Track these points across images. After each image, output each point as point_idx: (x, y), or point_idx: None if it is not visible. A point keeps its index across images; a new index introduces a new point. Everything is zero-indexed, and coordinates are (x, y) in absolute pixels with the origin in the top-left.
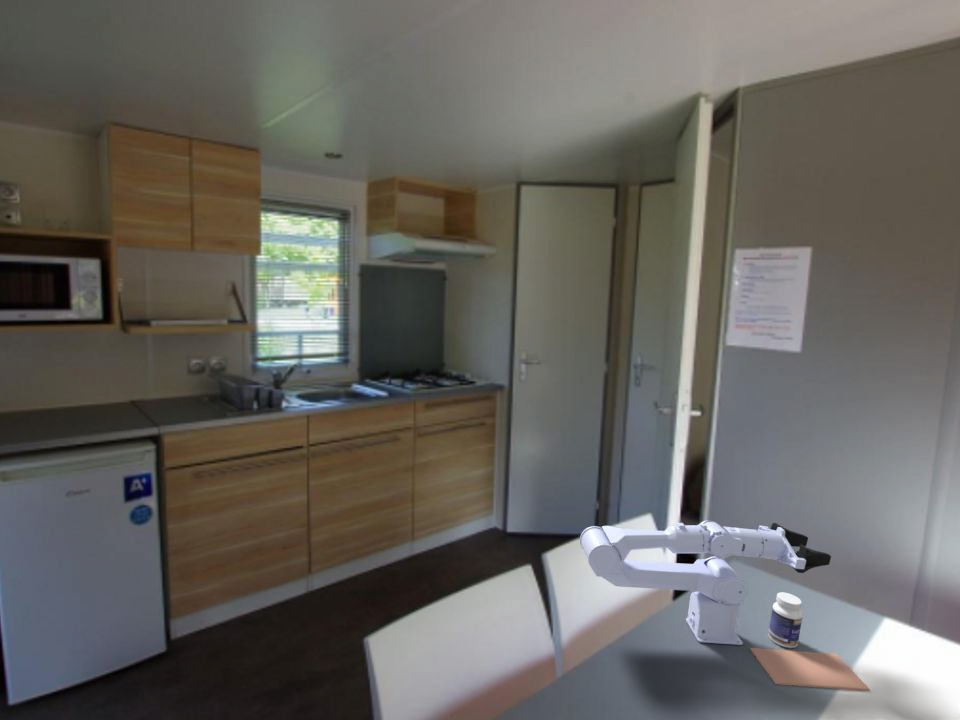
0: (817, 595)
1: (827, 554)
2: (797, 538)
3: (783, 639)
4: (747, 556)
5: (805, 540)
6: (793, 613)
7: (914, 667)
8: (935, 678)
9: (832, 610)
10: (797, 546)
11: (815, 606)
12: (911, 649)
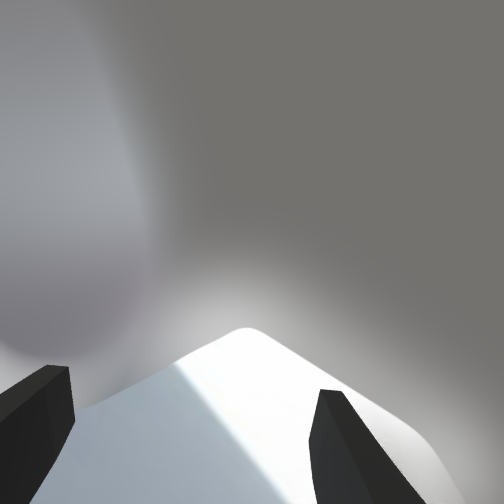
0: None
1: (349, 407)
2: (4, 460)
3: None
4: None
5: (61, 400)
6: None
7: (305, 404)
8: None
9: (109, 427)
10: (31, 498)
11: (77, 462)
12: (252, 371)
